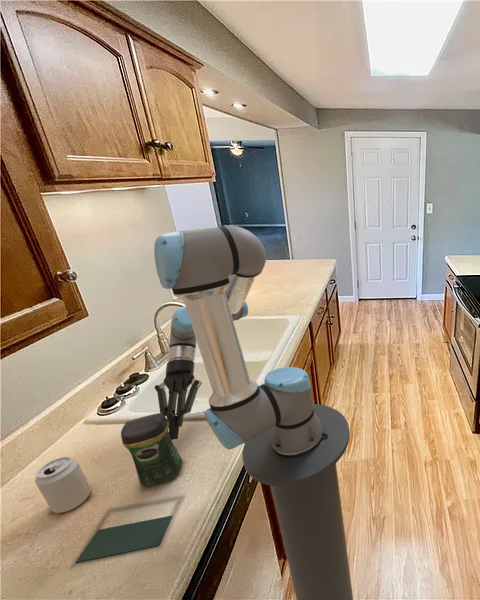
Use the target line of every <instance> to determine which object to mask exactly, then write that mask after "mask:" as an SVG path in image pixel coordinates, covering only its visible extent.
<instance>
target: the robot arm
mask: <svg viewBox="0 0 480 600" xmlns="http://www.w3.org/2000/svg"><path fill="white" fill-rule="evenodd" d="M153 245H154V246H153V247H154V248H153V249H154V250H153V254H154V263H155V269H156V273H157V276H158V279H159V283H160V285H161V287H162V288H163V289H165V290H171V291H172V294H173V296H174V297H177V298H178V299H180V300H181V301H183V302H184V306H182V307H179V308H177V309H176V310H175V311H174V313H173V314H172V317H171V322H170V323H171V325H170V336H169V346H168V352H167V359H166V360H167V363H166V368H165V378H164V379H163V382H161V383H160V384H156V385H154V390H155V391H156V393H157V399H158V400H157V401H158V407H159V413H163V414H164V416H165V418H166V419H167V421H168V423H169V429H168V432H169V435H170V438H171V440H172V441H175V440H179V433H180V428H181V427H182V426H183V422H184V416H185V415H186V414H189V413H191V412H192V409H193V404H194V403H195V399H196V396H197V393H198V392H199V391H198V390H199V388H200V387H201V386H202V384H203V382H202V381H201V380H198V379H196V378H195V375H194V372H195V362H194V361H195V360H196V350H197V349H196V348H197V346H198V349H199V353H200V356H201V359H202V362H203V365H204V368H205V371H206V374H207V378H208V381H209V383H210V387H211V390H212V394H211V395H210V397H209V398H208V405H209V407H210V408H207V409H206V410H205V411H204V412H203V415H204V417H205V420H206V422H207V423H208V426H209V428H210V429H211V431H212V432H213V434H214V436H215V437H216V439H217V440H218V442H219V443H220V444H221V445H222V447H223V448H224V449H226V450H233V449H236V448H238V447H240V446H241V445H243V444H244V445H245V443H247V441H249V440H250V439H252V438H254V437H256V436H258V435H259V434H261V433H263V432H265V431H266V430H268V429H270V428H272V427H273V428H272V434H271V446H272V449H273V451H274V452H275V453H276V454H277V455H279V456H282V457H288V458H291V457H298V456H302V455H304V454H307V453H308V452H310V451H312V450H313V449H314V448H316V447H317V446H318V444H319V443H320V442H321V440H322V438H323V436H325V437H327V435H328V434H326V433H323V427H322V424H321V422H320V420H319V419H318V417H317V415H316V414H315V412H314V408H313V404H314V401H313V400H314V399H313V393H312V384H311V380H310V377H309V374H308V372H307V371H305V370H304V369H302V368H300V367H295V366H282V367H277V368H275V369H273V370H270V371H269V372H268V373H267V374H266V375H265V377H264V383H262V384H260V385H259V383H258V382H257V381H254V380H252V379H251V378H250V374H249V371H248V368H247V365H246V360H245V357H244V354H243V350H242V347H241V343H240V340H239V336H238V333H237V329H236V326H235V321H239V320H240V319H243V318H246V317H247V316H248V315H249V307H248V303H247V301H246V300H247V298H248V296H249V292H250V291H251V288H252V286H253V284H254V282H255V278H256V277H258V276H259V275H260V274H262V272H263V270H264V268H265V265H266V263H267V262H266V261H267V254H266V249H265V247H264V244H263V242H262V241H261V240H260V239H259V237H258V236H256V235H255V234H254V233H252V232H251V231H250V230H248V229H246V228H243V227H241V226H237V225H222V226H215V227H214V226H213V227H206V228H197V229H195V228H194V229H186V230H176V231H173V232H167V233H162V234H160V235H158V236H157V237H156V239H155V241H154V244H153ZM166 389H168V397H167V392H166ZM188 389H189V391H188ZM187 393H188V394H187ZM167 398H168V399H167ZM182 428H183V427H182Z"/></svg>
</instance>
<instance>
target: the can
mask: <svg viewBox="0 0 480 600" xmlns="http://www.w3.org/2000/svg"><path fill="white" fill-rule="evenodd" d="M35 476H36V477H35V479H34V483H35V484H36V486H37V488H38V490H39V492H40V493H41V495H42V497H43V498H44V500H45V502H46V504H47V506H48V507H49V509H50V510H51V512H52V513H55V514H61V513H66V512H69V511H72V510H74V509H76V508H77V507H79V506H80V505H82V503H84V502H85V501H86V500H87V499H88V497H89V496H90V494H91V493H92V488H91V485H90V484H89V481H88V479H87V477H86V475H85V474H84V471H83V470H82V468H81V466H80V463H79V462H78V460H77V459H75V458H72V457H71V456H68V455H67V456H60V457H57V458H55V459H52V460H50V461H48V462H46V463H45V464H43V465H42V466H41V467H40V468H39V469H38V470H37V471H36V473H35Z"/></svg>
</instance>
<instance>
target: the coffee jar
mask: <svg viewBox="0 0 480 600" xmlns="http://www.w3.org/2000/svg"><path fill="white" fill-rule="evenodd" d="M120 438H121V441H122V443H121V444H122V445H123V446H124V447H125V448H126V449H127V450H128V451H129V453H130V455H131V457H132V460H133V464H134V467H135V470H136V475H137V478H138V481H139V484H140V486H142V487H146V488H147V487H152V486H156V485H160V484H163V483H166V482H169V481H170V480H173V479H174V478H176V477H177V476H178V475H179V474H180V473H181V470H182V468H183V459H182V457H181V454H180V452H179V451H178V449H177V447H176V446H175V444H174V442H173V440H171V438H170V435H169V423H168V421H167V417H166V416H164V414H163V413H160V412H158V413H153V414H148V415H145V416H141V417H137V418H134V419H132V420H131V419H130V420H127V421H126V422H125V423H124V425H123V426H122V428H121V431H120Z"/></svg>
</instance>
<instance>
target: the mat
mask: <svg viewBox="0 0 480 600" xmlns="http://www.w3.org/2000/svg"><path fill="white" fill-rule="evenodd" d="M173 517H174V515H173V514H172V515H167V516H163V517H162V516H161V517H156V518H151V519H146V520H141V521H136V522H130V523H125V524H121V525H116V526H111V527H106V528H100V529H97V530H96V532H95V533H94V535H93V536H92V538H91V539H90V540H89V542H88V543H87V545H86V546H85V548H84V549H83V551H82V552H81V553H80V555H79V556H78V558H77V559H76V560H75V563H76V564H79V563H82V562H83V563H84V562H88V561H92V560H97V559H102V558H107V557H111V556H118V555H121V554H125V553H131V552H136V551H141V550H145V549H151V548H154V547H155V548H156V547H159V546H160V545H161V544H162V543H161V542H162V541H163V539H164V536H165V535H166V532H167V530H168V528H169V526H170V523H171V521H172V519H173Z"/></svg>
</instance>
